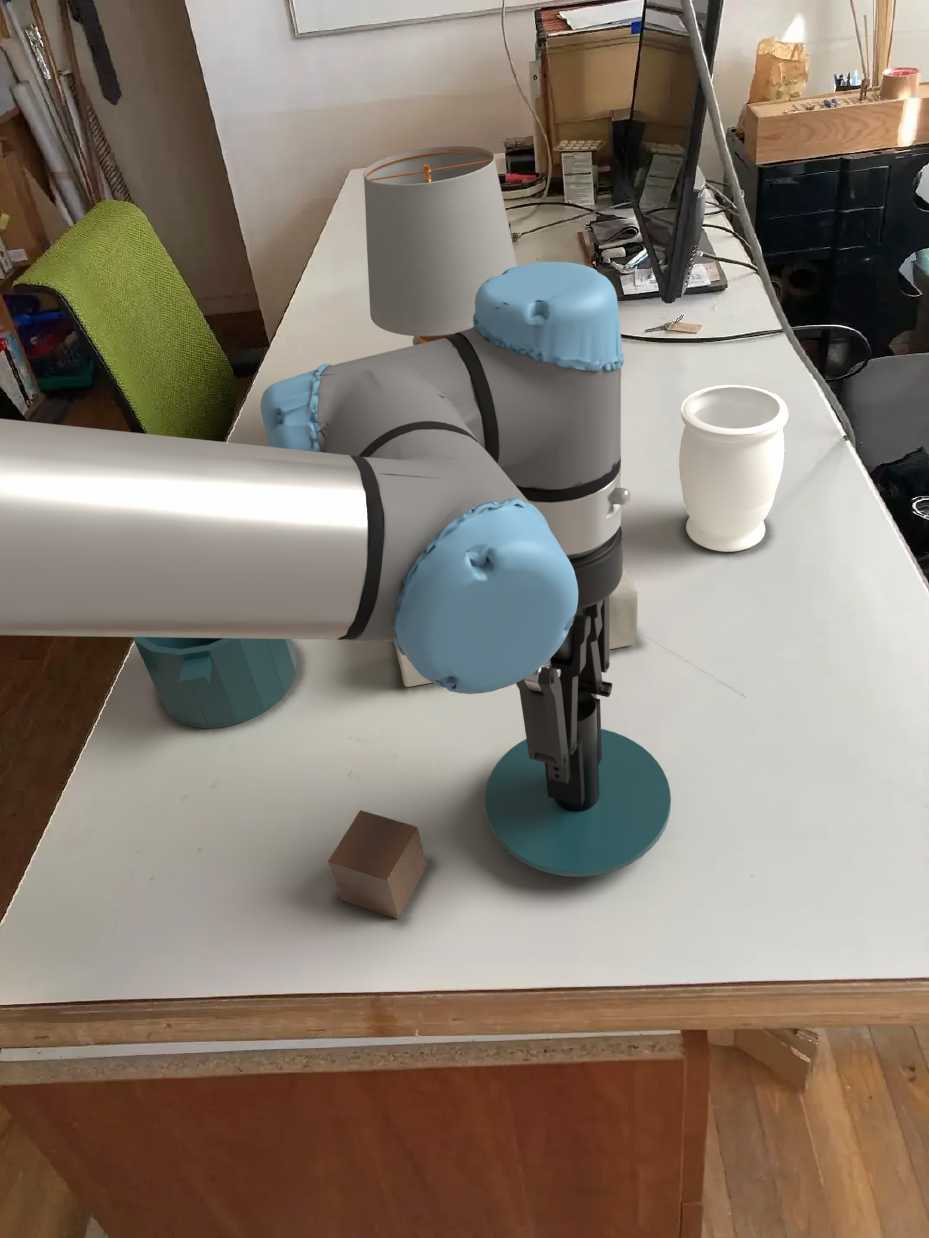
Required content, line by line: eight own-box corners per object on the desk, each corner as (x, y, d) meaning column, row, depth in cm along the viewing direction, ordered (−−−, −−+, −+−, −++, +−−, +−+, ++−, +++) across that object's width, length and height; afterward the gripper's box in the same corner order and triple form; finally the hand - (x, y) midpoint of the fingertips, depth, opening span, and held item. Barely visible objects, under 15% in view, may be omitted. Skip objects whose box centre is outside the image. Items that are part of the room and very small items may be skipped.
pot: (147, 759, 85) (111, 685, 79) (175, 628, 100) (146, 557, 94) (294, 736, 85) (268, 660, 79) (300, 609, 100) (279, 536, 94)
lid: (499, 896, 68) (483, 799, 61) (476, 750, 80) (460, 654, 73) (694, 864, 69) (701, 764, 61) (643, 723, 80) (644, 624, 73)
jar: (659, 519, 105) (662, 398, 96) (741, 495, 107) (751, 374, 98) (707, 569, 97) (715, 443, 88) (794, 543, 99) (811, 416, 90)
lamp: (545, 455, 119) (527, 172, 97) (399, 480, 118) (349, 201, 97) (518, 391, 134) (497, 133, 112) (388, 413, 133) (342, 157, 111)
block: (341, 899, 71) (327, 861, 68) (371, 848, 75) (360, 809, 72) (398, 919, 70) (387, 880, 66) (427, 866, 73) (417, 826, 70)
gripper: (575, 623, 50) (588, 877, 65) (656, 466, 61) (651, 713, 76) (449, 599, 53) (489, 848, 68) (549, 453, 64) (564, 694, 79)
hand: (575, 776), depth 72 cm, fingers closed on lid, 4 cm apart
